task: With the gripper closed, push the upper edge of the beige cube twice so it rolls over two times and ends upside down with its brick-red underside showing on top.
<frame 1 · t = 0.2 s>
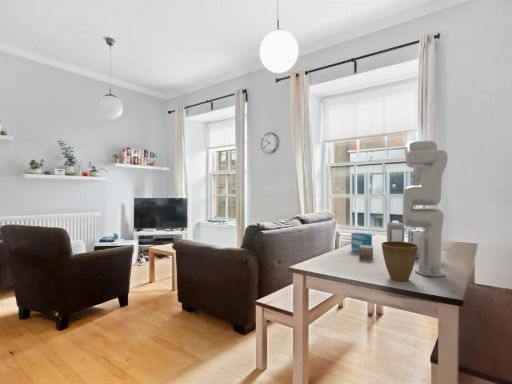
hand: (419, 204, 185), 31 cm above the table, tool pointing down, fingers open, 9 cm apart
data package: (361, 252, 193), on the table
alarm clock: (395, 252, 192), on the table
candy box: (421, 258, 177), on the table
beige cube: (366, 258, 175), on the table
plant pot: (398, 279, 135), on the table
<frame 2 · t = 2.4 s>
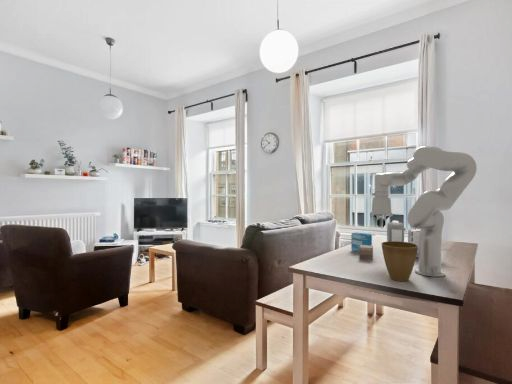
hand: (381, 226, 171), 19 cm above the table, tool pointing down, fingers closed
nothing on the table moved.
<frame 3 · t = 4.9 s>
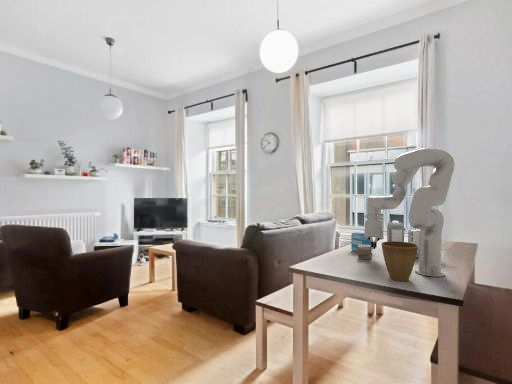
hand: (373, 248, 173), 6 cm above the table, tool pointing down, fingers closed
beige cube: (365, 257, 175), on the table, touching gripper
everything else where it was.
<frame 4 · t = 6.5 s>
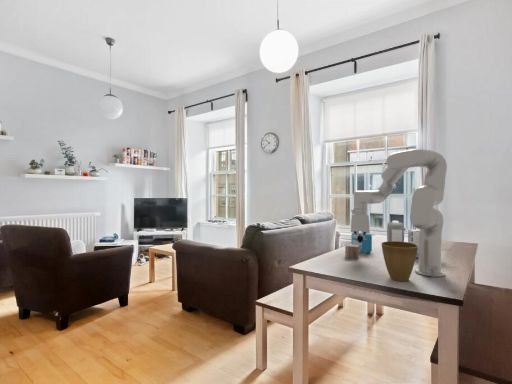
hand: (360, 242, 176), 9 cm above the table, tool pointing down, fingers closed
beige cube: (358, 251, 176), point 3 cm above the table, tilted 90°
everything else where it was.
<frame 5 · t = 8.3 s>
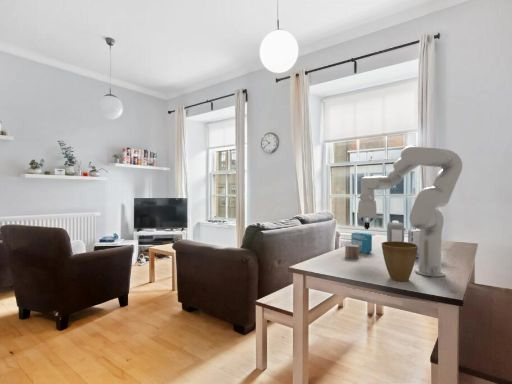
hand: (366, 229, 175), 17 cm above the table, tool pointing down, fingers closed
nothing on the table moved.
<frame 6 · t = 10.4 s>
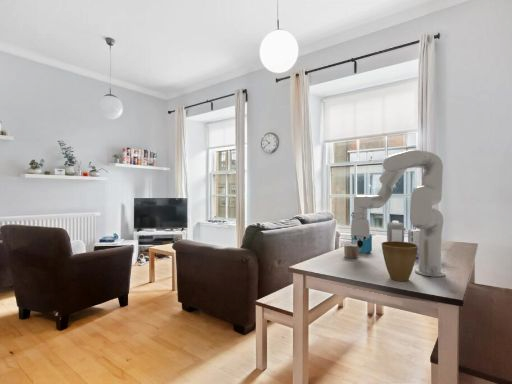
hand: (360, 247, 176), 6 cm above the table, tool pointing down, fingers closed
beige cube: (357, 251, 177), point 4 cm above the table, tilted 92°, touching gripper
everything else where it was.
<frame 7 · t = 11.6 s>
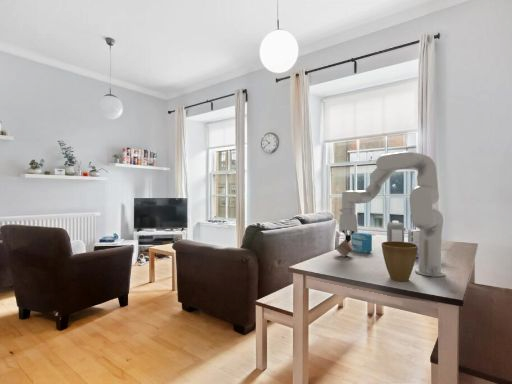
hand: (348, 241, 179), 9 cm above the table, tool pointing down, fingers closed
beige cube: (349, 244, 179), point 7 cm above the table, tilted 135°
everything else where it was.
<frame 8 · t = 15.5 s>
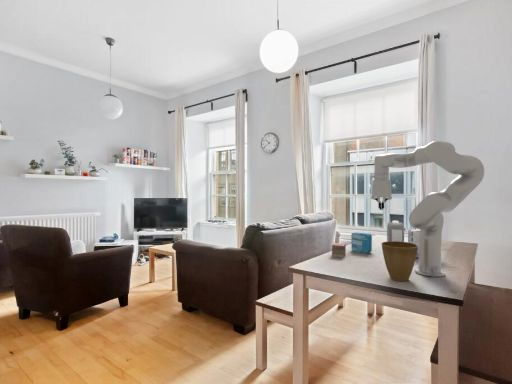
hand: (381, 209, 167), 29 cm above the table, tool pointing down, fingers closed
beige cube: (338, 244, 181), point 7 cm above the table, tilted 180°
everything else where it was.
at the end: beige cube tilted 180°; beige cube inside the target area (0.7 cm from its centre), point 7.0 cm above the table; beige cube touching table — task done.
